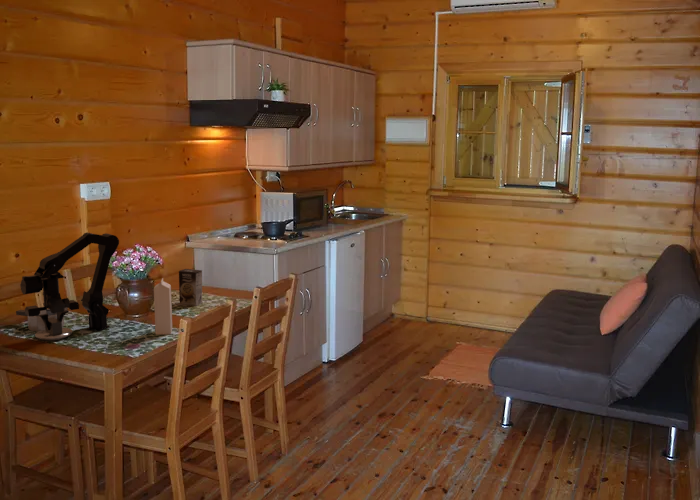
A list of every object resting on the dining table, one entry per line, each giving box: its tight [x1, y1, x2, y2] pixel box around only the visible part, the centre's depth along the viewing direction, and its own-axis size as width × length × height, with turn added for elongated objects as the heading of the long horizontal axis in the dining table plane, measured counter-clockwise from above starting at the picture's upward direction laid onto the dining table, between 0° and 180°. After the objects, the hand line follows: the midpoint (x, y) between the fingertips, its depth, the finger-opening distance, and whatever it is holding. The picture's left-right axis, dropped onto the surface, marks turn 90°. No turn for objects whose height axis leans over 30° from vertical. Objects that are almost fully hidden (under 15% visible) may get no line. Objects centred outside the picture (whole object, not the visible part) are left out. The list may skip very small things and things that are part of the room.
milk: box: [153, 277, 173, 336], centre depth 270 cm, size 6×6×22 cm
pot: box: [15, 309, 65, 333], centre depth 278 cm, size 21×13×6 cm, turn 71°
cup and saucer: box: [34, 317, 73, 342], centre depth 264 cm, size 13×13×7 cm
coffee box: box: [178, 268, 203, 307], centre depth 317 cm, size 9×6×16 cm
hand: (53, 329), depth 264 cm, fingers closed on cup and saucer, 3 cm apart
